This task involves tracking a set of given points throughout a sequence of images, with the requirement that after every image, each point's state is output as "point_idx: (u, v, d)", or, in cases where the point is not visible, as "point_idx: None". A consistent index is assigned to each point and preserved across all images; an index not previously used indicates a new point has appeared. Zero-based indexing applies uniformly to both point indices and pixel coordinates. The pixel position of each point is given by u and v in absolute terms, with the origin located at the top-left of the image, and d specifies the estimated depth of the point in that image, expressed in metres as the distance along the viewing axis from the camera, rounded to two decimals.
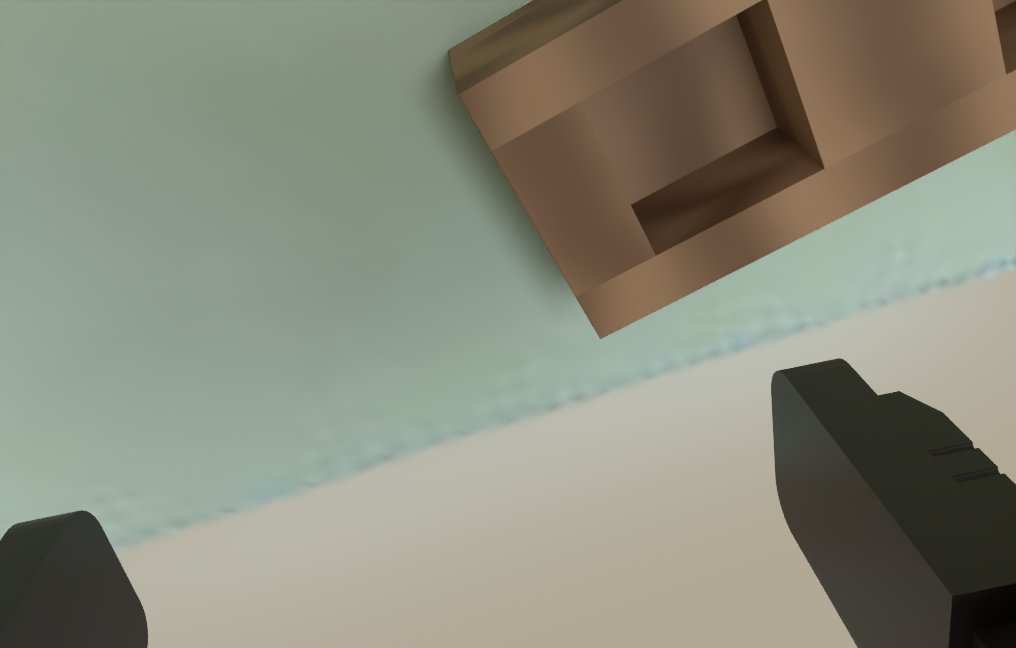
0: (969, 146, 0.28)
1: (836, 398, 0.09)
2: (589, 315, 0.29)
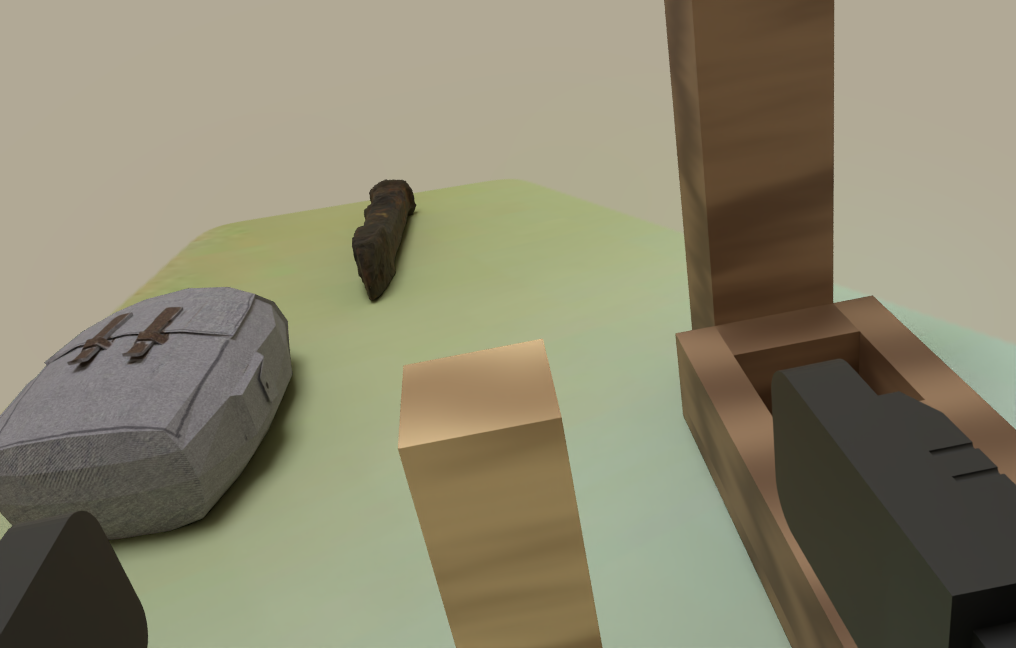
0: (990, 412, 0.33)
1: (836, 398, 0.09)
2: None
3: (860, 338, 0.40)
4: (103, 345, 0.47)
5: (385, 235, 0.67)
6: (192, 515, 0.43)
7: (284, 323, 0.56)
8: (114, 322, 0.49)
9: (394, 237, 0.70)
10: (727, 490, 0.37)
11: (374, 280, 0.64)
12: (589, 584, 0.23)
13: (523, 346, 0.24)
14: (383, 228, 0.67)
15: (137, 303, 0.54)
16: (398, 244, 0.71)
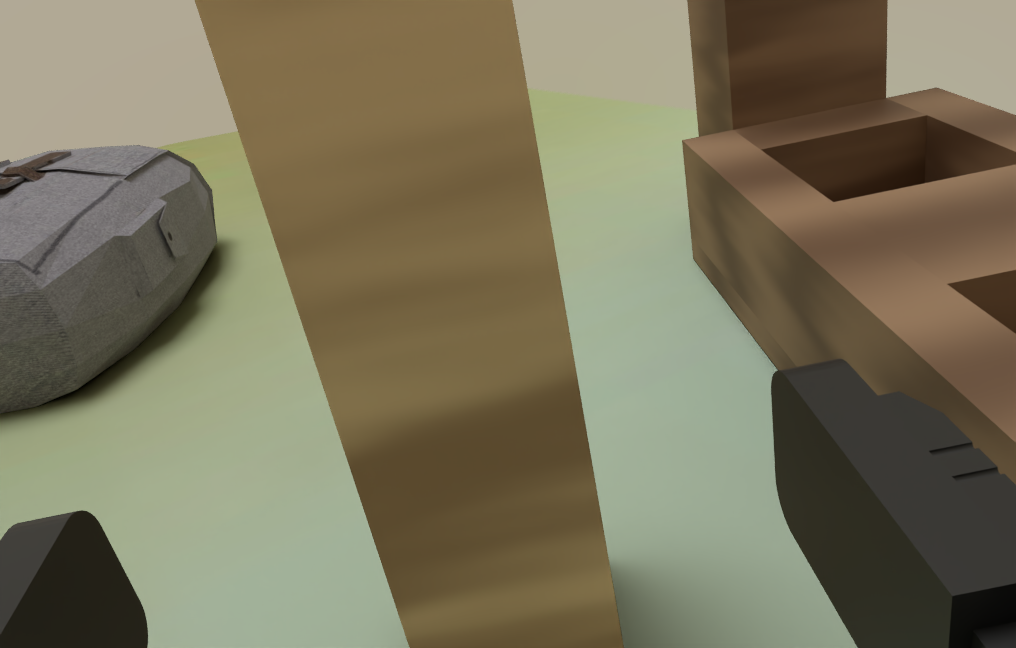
0: None
1: (836, 398, 0.09)
2: None
3: (928, 124, 0.30)
4: None
5: None
6: (61, 384, 0.34)
7: (207, 192, 0.47)
8: None
9: None
10: (758, 312, 0.27)
11: None
12: (555, 268, 0.13)
13: None
14: None
15: None
16: None
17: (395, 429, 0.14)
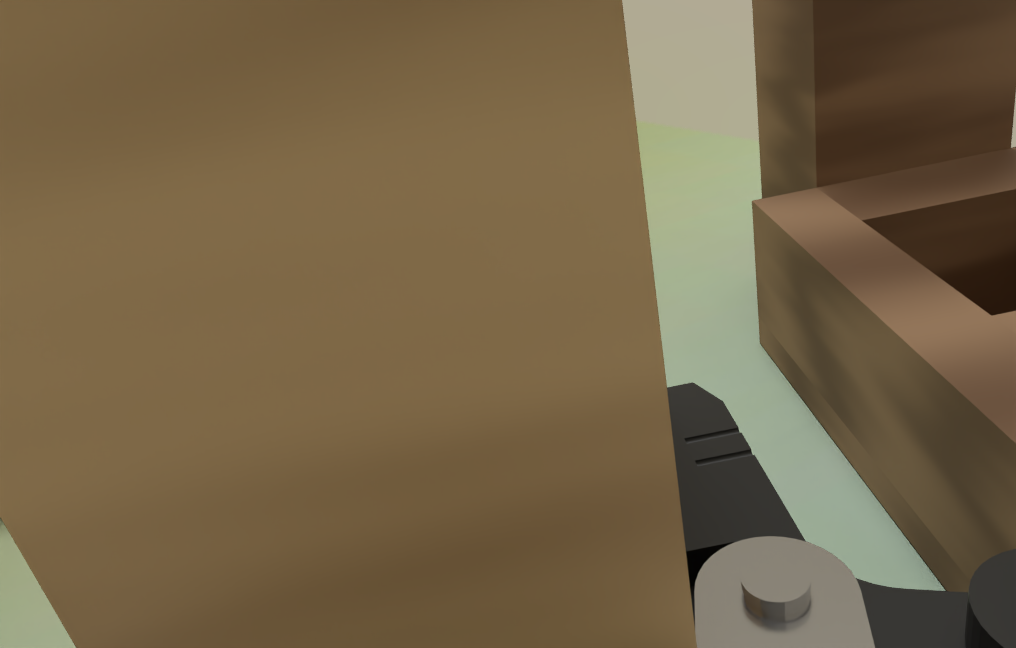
0: None
1: None
2: None
3: None
4: None
5: None
6: None
7: None
8: None
9: None
10: (871, 447, 0.21)
11: None
12: None
13: None
14: None
15: None
16: None
17: None
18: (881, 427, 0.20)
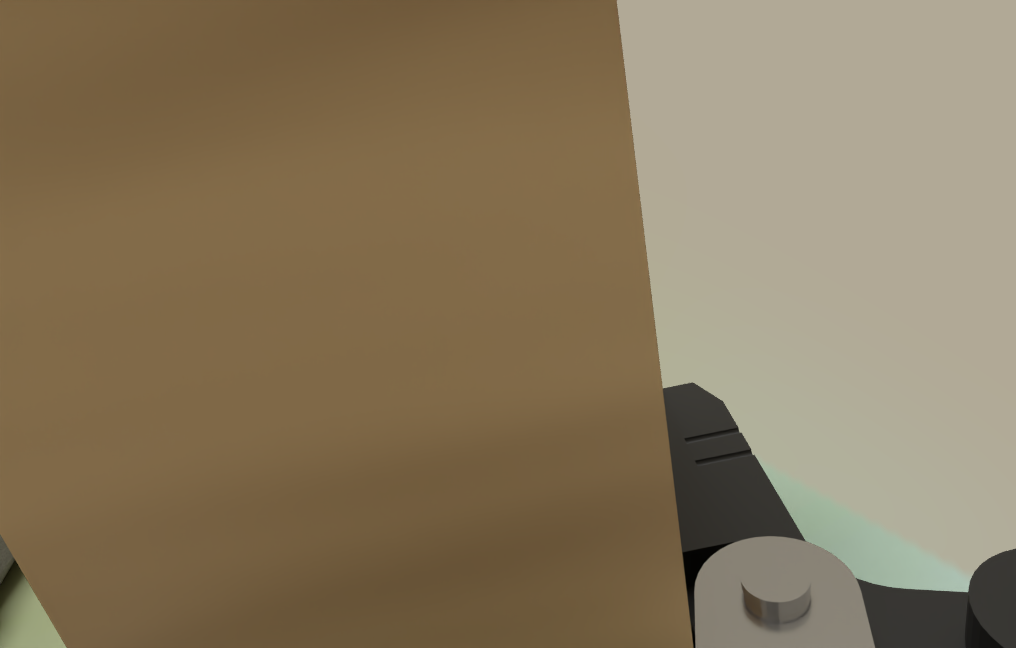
0: None
1: None
2: None
3: None
4: None
5: None
6: None
7: None
8: None
9: None
10: None
11: None
12: None
13: None
14: None
15: None
16: None
17: None
18: None
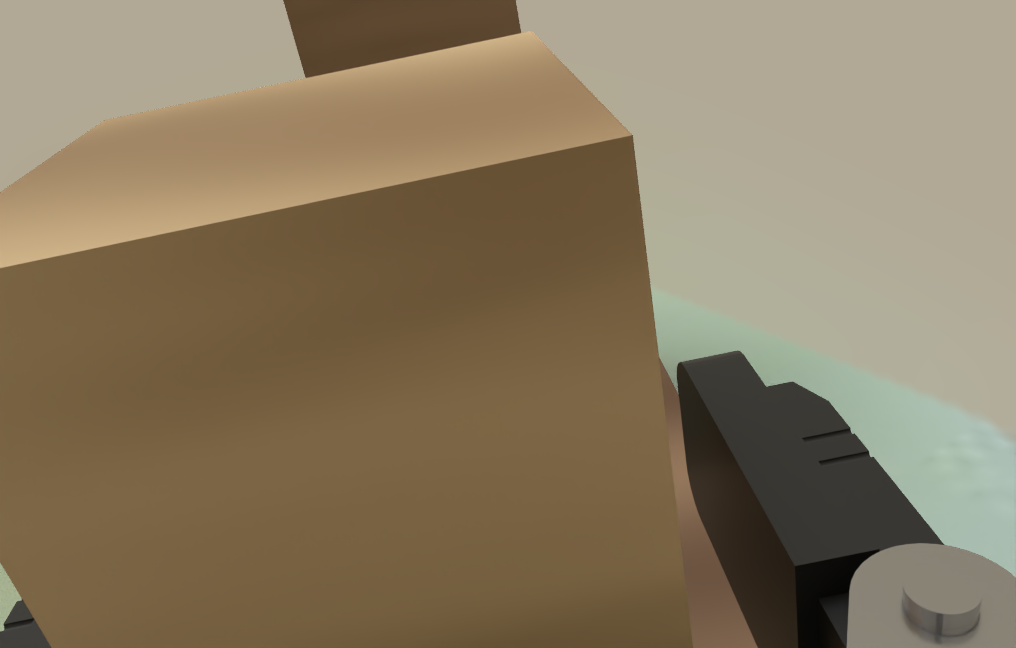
0: None
1: (726, 387, 0.09)
2: None
3: None
4: None
5: None
6: None
7: None
8: None
9: None
10: None
11: None
12: None
13: (472, 47, 0.08)
14: None
15: None
16: None
17: None
18: None
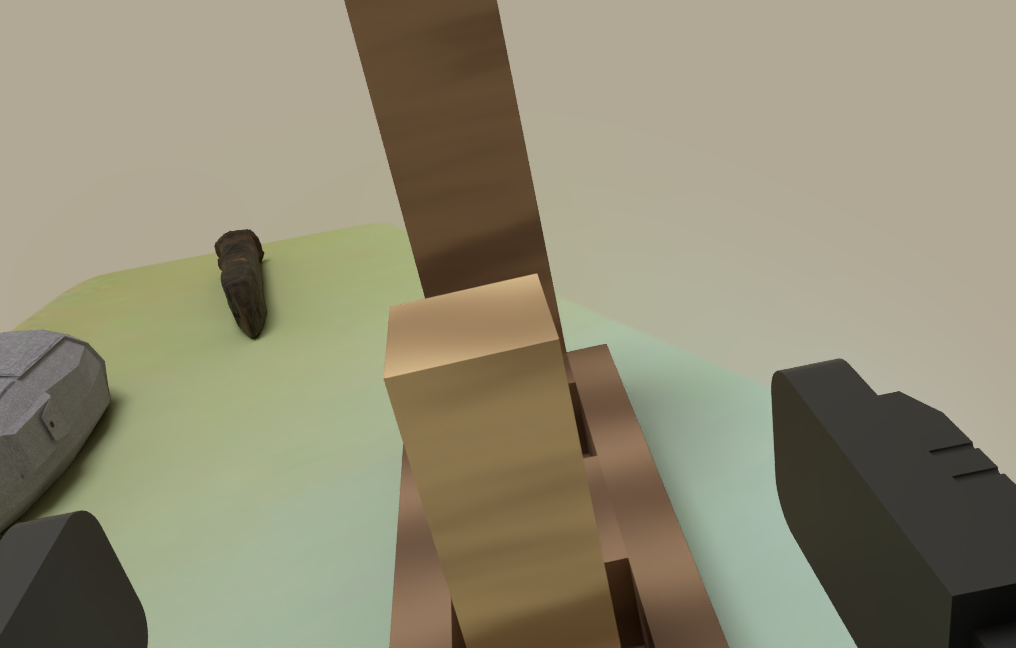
0: (650, 468, 0.32)
1: (836, 398, 0.09)
2: None
3: (576, 388, 0.39)
4: None
5: (253, 274, 0.67)
6: None
7: (101, 363, 0.57)
8: None
9: (258, 278, 0.70)
10: None
11: (253, 316, 0.64)
12: (596, 531, 0.21)
13: (517, 281, 0.22)
14: (250, 268, 0.67)
15: None
16: None
17: (495, 623, 0.22)
18: None
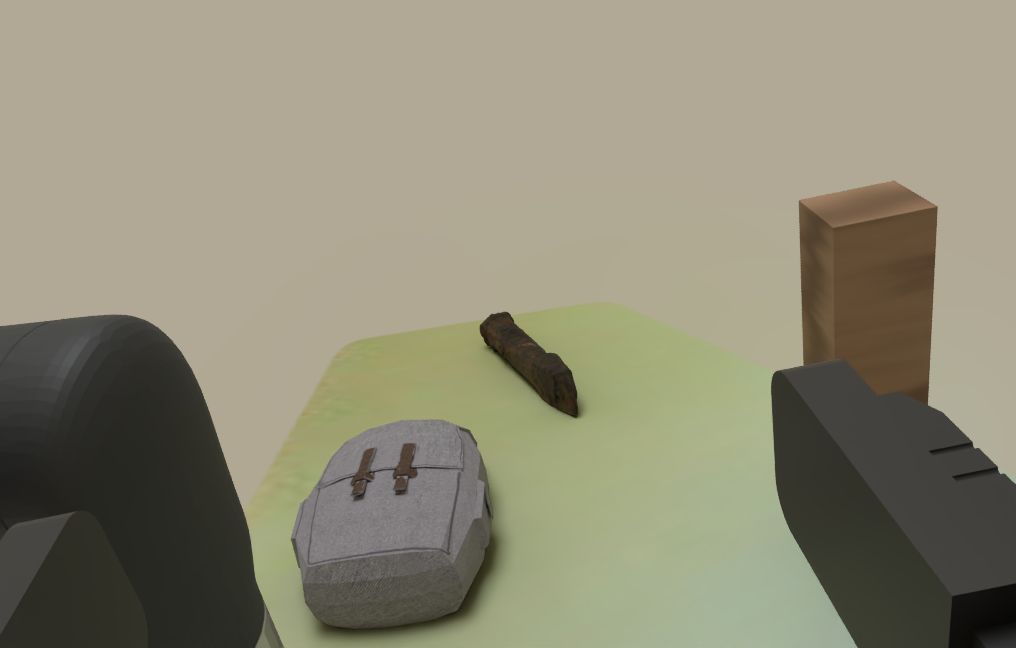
0: None
1: (836, 398, 0.09)
2: None
3: None
4: (369, 478, 0.63)
5: None
6: (451, 608, 0.59)
7: (475, 445, 0.72)
8: (367, 456, 0.65)
9: None
10: None
11: (576, 399, 0.79)
12: None
13: None
14: (558, 356, 0.81)
15: (366, 434, 0.70)
16: None
17: None
18: None
